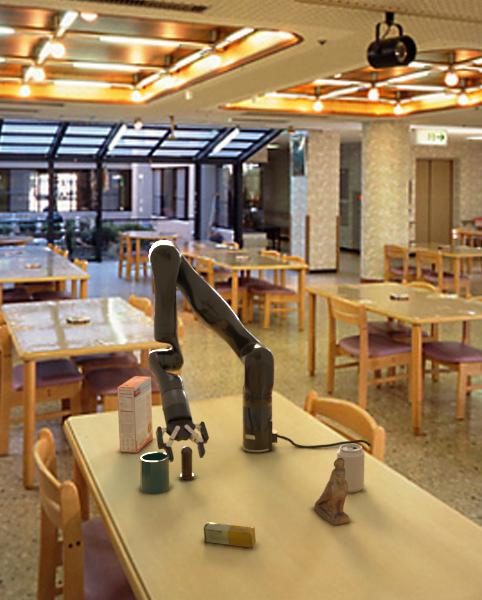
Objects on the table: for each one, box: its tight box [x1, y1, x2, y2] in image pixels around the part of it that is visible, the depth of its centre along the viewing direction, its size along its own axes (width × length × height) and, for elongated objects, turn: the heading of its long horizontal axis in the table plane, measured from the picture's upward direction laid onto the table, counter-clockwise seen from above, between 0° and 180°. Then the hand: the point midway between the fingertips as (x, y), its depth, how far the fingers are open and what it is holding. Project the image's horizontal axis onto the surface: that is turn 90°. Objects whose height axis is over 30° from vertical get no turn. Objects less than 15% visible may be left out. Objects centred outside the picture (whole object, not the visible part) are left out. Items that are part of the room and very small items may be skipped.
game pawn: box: [179, 446, 195, 482], centre depth 222 cm, size 4×4×9 cm
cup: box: [139, 451, 171, 495], centre depth 214 cm, size 8×8×9 cm
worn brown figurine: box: [313, 458, 350, 526], centre depth 197 cm, size 12×6×18 cm, turn 24°
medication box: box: [203, 521, 257, 549], centre depth 183 cm, size 12×3×4 cm, turn 75°
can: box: [336, 443, 366, 494], centre depth 216 cm, size 8×8×12 cm
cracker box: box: [116, 375, 154, 454], centre depth 248 cm, size 14×6×21 cm, turn 172°
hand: (187, 458), depth 221 cm, fingers open, 8 cm apart
